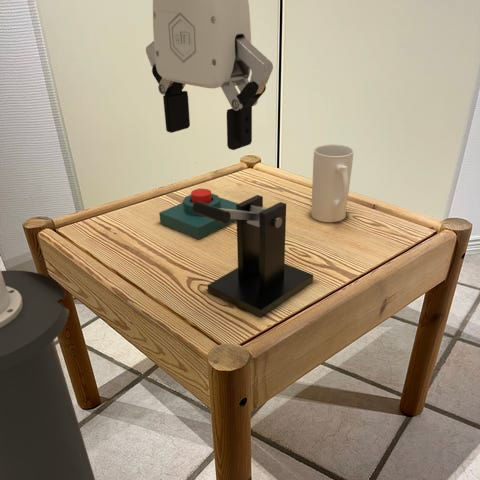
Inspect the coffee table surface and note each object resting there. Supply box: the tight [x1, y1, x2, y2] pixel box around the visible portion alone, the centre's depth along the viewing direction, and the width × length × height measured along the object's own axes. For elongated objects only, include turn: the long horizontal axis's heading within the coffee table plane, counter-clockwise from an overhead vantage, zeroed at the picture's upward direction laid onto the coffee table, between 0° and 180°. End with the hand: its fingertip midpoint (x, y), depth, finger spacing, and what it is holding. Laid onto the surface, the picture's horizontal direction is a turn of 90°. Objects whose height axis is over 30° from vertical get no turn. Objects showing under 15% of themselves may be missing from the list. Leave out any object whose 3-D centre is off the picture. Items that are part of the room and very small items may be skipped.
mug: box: [310, 143, 355, 223], centre depth 90 cm, size 10×7×12 cm, turn 12°
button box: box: [158, 192, 239, 240], centre depth 93 cm, size 12×10×4 cm
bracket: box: [207, 194, 314, 318], centre depth 71 cm, size 12×10×13 cm
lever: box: [193, 201, 268, 227], centre depth 65 cm, size 12×5×2 cm, turn 138°
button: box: [190, 188, 212, 204], centre depth 91 cm, size 4×4×2 cm
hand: (207, 137), depth 57 cm, fingers open, 9 cm apart
